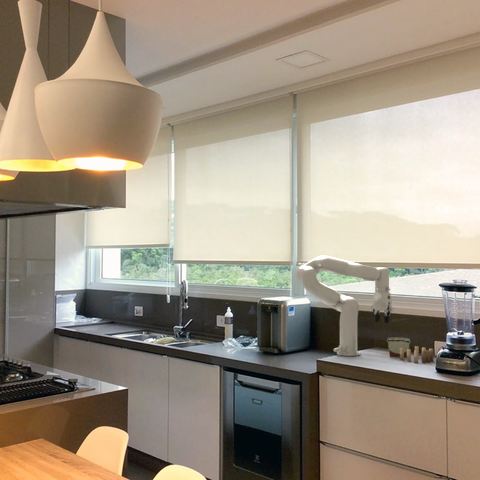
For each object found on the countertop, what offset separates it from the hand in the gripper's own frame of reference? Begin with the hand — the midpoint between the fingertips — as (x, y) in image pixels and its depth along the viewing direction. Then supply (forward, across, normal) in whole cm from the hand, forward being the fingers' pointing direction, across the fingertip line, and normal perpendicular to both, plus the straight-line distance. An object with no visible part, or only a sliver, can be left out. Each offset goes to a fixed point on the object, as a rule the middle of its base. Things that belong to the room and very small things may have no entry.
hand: (382, 321), depth 308 cm
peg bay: (+18, -25, +1) cm, 30 cm away
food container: (+18, -12, 0) cm, 21 cm away
